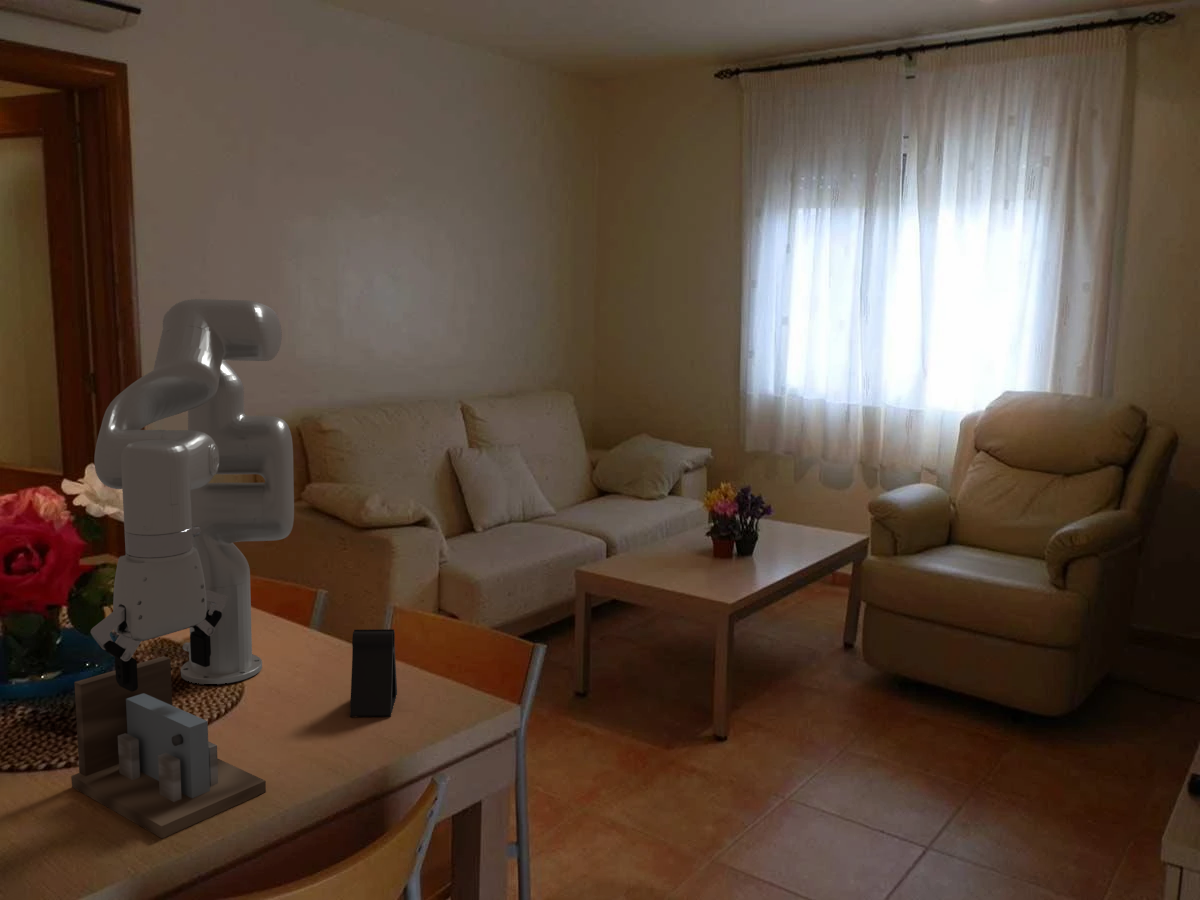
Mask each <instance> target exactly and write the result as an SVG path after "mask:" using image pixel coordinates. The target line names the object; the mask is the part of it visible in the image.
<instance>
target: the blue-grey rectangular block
mask: <svg viewBox="0 0 1200 900" xmlns="http://www.w3.org/2000/svg"><path fill="white" fill-rule="evenodd" d="M126 712H127V734H128V735H130V736H132V737H134V738H136V739H138V741H139V764H140V772H142V773H144V774H146V775H148V776H150V777H152V778H154V779H156V780H158V781H159V766H158V755H161V754H164V753H167V754H169V755H172V756H174V757H176V758H178V759H180V772H181V793H183V794H185V795H187V796H188V797H190V798H194V797H197V796H199V795H201V794H204V793H206V792H208V791H210V778H209V749H208V741H209V728H208V727H209V724H208V721H209V720H207V719H204V718H201V717H199V716H197V715H194V714H192V713H191V712H188V711H185V710H183V709H180V707H179V708H178V707H176V706H174V705H173V704H172V705H170V704H167V703H165V702H163V701H160V700H158V699H156V698H154V697H151V696H149V695H147V694H144V693H143V694H140V695H136V696H133V697H130V698H127V699H126Z"/></svg>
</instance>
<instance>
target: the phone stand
mask: <svg viewBox="0 0 1200 900" xmlns="http://www.w3.org/2000/svg"><path fill="white" fill-rule="evenodd" d="M395 633H396V632H395V629H393V628H392V629H353V632H352V637H351V638H352V640H351V642H352V644H351V645H352V656H351V657H352V659H351V679H350V681H351V682H350V705H349V706H350V707H349V717H350V718H391V717H392V714H391V713H393V709H394V707H395V704H394V703H396V700H395V699H397V697H396V695H397V696H398V686H397V684H398V683H397V682H398V681H397V667H396V665H397V664H396V661H397V660H396V648H395V647H396V645H395V641H396V640H395V637H396V635H395ZM393 706H394V707H393Z"/></svg>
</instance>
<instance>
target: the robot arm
mask: <svg viewBox="0 0 1200 900" xmlns="http://www.w3.org/2000/svg"><path fill="white" fill-rule="evenodd" d="M282 336H283V335H282V326H281V322H280V318H279V316H278V313H276V312H275V310H274V309H273V308H272V307H270V306H268V305H266V304H264V303H263V302H262V303H261V302H257V301H255V300H246V299H216V298H215V299H211V298H195V299H194V298H193V299H192V298H191V299H185V300H181V301H179V302H176V303H175V304H174V305H173V306H171V307H170V309H169V310H168V311H167V312H166V313H165V314H164V316H163V319H162V331H161V336H160V339H159V344H158V348H157V352H156V353H157V354H156V356H155V361H154V367H153V369H152V371H150V372H148V373H146V374H145V375H144V374H143V376H141V377H140V378H138V379H137V380H135V381H134V382H132V383H131V384H130V385H128V386H126V388H124V389H123V391H121V392H120V393H118V395H116V396H115V397H114V398H113V399H112V401H111V402H110V403H109V405H108V406H107V408H106V410H105V412H104V415H103V418H102V421H101V426H100V428H99V432H98V435H97V440H96V444H95V450H94V459H93V460H94V461H93V462H94V468H95V474H96V476H97V478H98V480H99V481H100V482H101V483H102V484H103V485H104V486H106V487H108V488H110V489H113V490H114V489H115V490H122V508H123V526H124V529H123V530H124V543H125V546H124V547H125V555H120V556H119V558H118V559H117V565H116V571H115V574H114V575H115V577H114V585H113V599H112V600H113V603H112V605H113V606H112V612H110V613H109V614H108V615H107V616H106V617H104V618H103V619H102V620H101V621H99V622H98V623H97V624H95V626H93V627H92V628H91V629H90V634H91V636H92V638H93V639H94V641H96V643H97V644H98V646H99V648H100V649H102V650H103V651H104V652H106V653H108V655H110V656H112V657H114V666H115V667H114V669H115V671H116V681H117V683H118V684H119V686H120V687H123V688H125V689H127V690H129V691H131V692H133V691H136V690H137V689H138V678H137V664H138V662H137V659H136V658H133V656H134V654H135V652H136V651H137V649H138V647H139V646H140V644H141V643H142V642H145V641H150V640H153V639H156V638H160V637H163V636H167V635H170V634H172V633H177V632H181V631H184V630H187V629H189V642H184V643H183V645H182V649H183V650H184V651H186V652H188V658H189V660H188V661H186V662H185V663H184V664H183V665H182V666H181V667H180V676H181V678H182V680H184V681H186V682H188V681H189V682H188V683H191V682H192V683H191V684H195V683H197V684H196V685H204V684H217V685H224V684H225V683H227V684H233V683H237V682H241V681H244V680H247V679H250V678H252V677H253V676H256V675H257V674H258V673H260V672H261V670H262V669H263V661H262V659H261V658H260V656H258V655H256V654H254V653H253V648H252V647H253V643H252V642H253V641H252V637H253V636H252V605H251V604H252V603H251V601H252V600H251V569H250V566H249V562H248V560H247V558H246V557H245V555H244V554H243V553H242V551H241V550H240V549H239V548H238V547H237V546H236V544H234V543H239V542H266V541H267V542H268V541H270V542H271V541H280V540H283V539H285V538H287V537H289V536H290V534H291V533H292V530H293V527H294V520H295V492H294V491H295V490H294V485H295V484H294V480H295V478H294V477H295V476H294V444H293V437H292V432H291V430H290V426H289V424H288V423H287V422H286V420H284V419H283V418H280V417H278V416H273V415H247V414H246V413H245V390H244V389H245V388H244V384H243V381H242V380H241V378H240V377H239V375H238V374H237V372H236V371H235V370H234V369H233V367H232V366H231V365H230V364H229V363H228V362H227V361H231V362H232V361H233V362H235V361H240V362H241V361H244V362H245V361H246V362H248V361H249V362H251V361H252V362H269V361H272V360H273V359H274V358H275V357H277V355H278V353H279V352H280V348H281V345H282V338H283V337H282ZM186 412H187V430H185V429H184V430H183V429H178V430H175V429H171V430H170V429H168V430H167V429H143V428H145V427H146V426H149V425H151V424H153V423H155V422H159V421H161V420H164V419H166V418H170V417H174V416H176V415H179V414H182V413H186ZM216 475H259V476H261V477H262V478H263V479H264V482H211V480H213V478H214V476H216ZM113 630H114V632H115V634H118V637H117V638H116V640H115V641H114V640H113V639H112V637H111V632H112V631H113ZM198 683H199V684H198ZM225 685H226V684H225Z"/></svg>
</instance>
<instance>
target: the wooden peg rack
mask: <svg viewBox="0 0 1200 900" xmlns="http://www.w3.org/2000/svg"><path fill="white" fill-rule="evenodd" d="M171 662H172V661H171V658H170V657H167V656H165V655H163V656H160V657H156V658H153V659H149V660H146V661H142V662H140V663H137V678H138V689H137V690H136V691H133V692H131V691H129V690H127V689H125V688H123V687H120V686H119V684H118V683H117V681H116V671H115V670H112V671H108V672H104V673H102V674H98V675H94V676H91V677H87V678H83V679H80V680H76V681H74V695H75V696H74V698H75V717H76V718H75V719H76V720H75V721H76V733H77V735H76V737H77V749H78V750H77V751H78V753H77V754H78V773H75V774H72V775H71V787H72V789H75V790H76V791H78V792H80V793H81V794H83V795H85V796H87V797H88V798H90V799H93V801H96V802H97V803H99V804H101V805H102V806H105V807H107V808H108V809H110V810H111V811H114V812H115V813H117V814H118V815H120V816H122V817H124V818H125V819H127V820H128V821H131V822H132V821H133V822H132V823H134V824H136V825H138V826H139V827H141V828H143V829H144V830H147V831H148V832H150V833H151V834H154V835H155V836H157V837H158V838H159V839H160V838H161V839H164V838H167V837H168V836H171V835H174V834H175V833H177V832H180V831H183V830H184V829H187V828H189V827H190V826H194V825H196V824H197V823H198V824H199V823H200V822H202V821H204V820H207V819H208V818H209V819H210V818H211V817H213V816H215V815H218V814H219V813H222V812H224V811H227V810H228V809H231V808H234V807H235V806H237V805H240V804H242V803H245V802H247V801H250V799H253V798H255V797H257V796H261V795H262V794H264V793H266V792H267V789H266V787H267V786H266V785H267V784H266V780H265V779H263V778H261V777H260V776H259V777H258V776H256V775H254V774H252V773H250V772H248V771H246V770H243V769H241V768H239V767H238V766H235V765H233V764H231V763H228V762H227V761H225V760H222V759H220V758H218V745H217V744H215V743H213V742H211V741H209V740H208V749H209V778H210V791H208V792H206V793H204V794H201V795H199V796H197V797H194V798H190V797H188V796H187V795H185V794H183V793H181V772H180V759H178V758H176V757H174V756H172V755H169V754H167V753H164V754H161V755H158V766H159V781H158V780H156V779H154V778H152V777H150V776H148V775H146V774H144V773H142V772H140V764H139V741H138V739H136V738H134V737H132V736H130V735H128V734H127V712H126V699H127V698H130V697H133V696H136V695H140V694H143V693H144V694H147V695H149V696H151V697H154V698H156V699H158V700H160V701H163V702H165V703H167V704H170V705H172V706H173V692H172V690H173V689H172V669H171V667H172V665H171Z"/></svg>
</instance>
